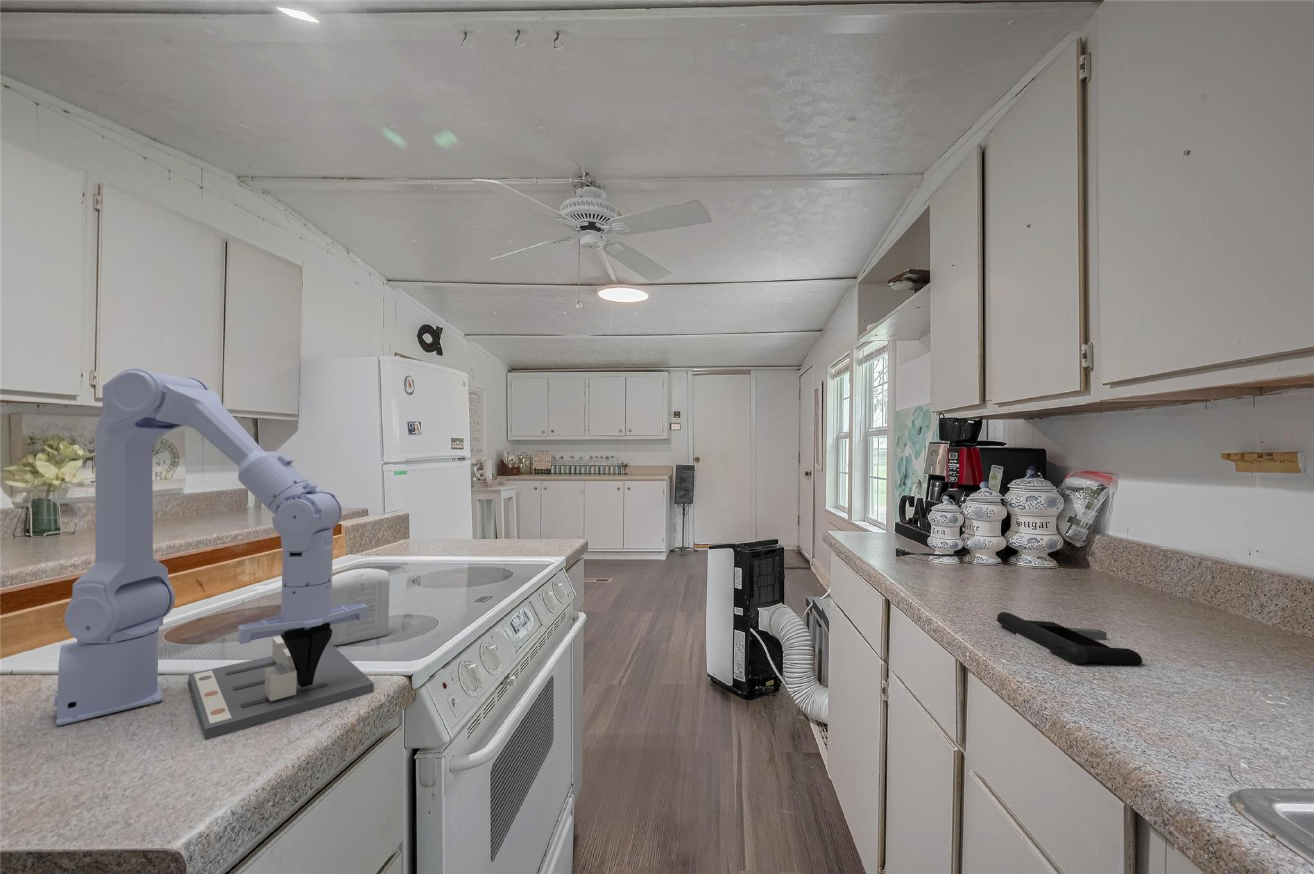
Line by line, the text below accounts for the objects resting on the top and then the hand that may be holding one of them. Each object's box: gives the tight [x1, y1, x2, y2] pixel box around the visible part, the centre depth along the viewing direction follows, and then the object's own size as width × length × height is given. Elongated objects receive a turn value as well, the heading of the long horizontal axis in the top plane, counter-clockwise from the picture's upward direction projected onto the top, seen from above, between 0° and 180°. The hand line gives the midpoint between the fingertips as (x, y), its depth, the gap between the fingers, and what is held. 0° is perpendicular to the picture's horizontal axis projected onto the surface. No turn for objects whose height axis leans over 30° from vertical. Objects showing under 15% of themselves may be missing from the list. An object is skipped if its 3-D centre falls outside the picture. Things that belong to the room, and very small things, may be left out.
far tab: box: [271, 635, 288, 663], centre depth 83 cm, size 3×4×3 cm
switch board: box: [188, 644, 375, 740], centre depth 77 cm, size 18×22×1 cm
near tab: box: [265, 663, 297, 701], centre depth 71 cm, size 3×4×3 cm
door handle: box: [995, 611, 1143, 667], centre depth 94 cm, size 3×20×16 cm
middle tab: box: [282, 649, 297, 676], centre depth 78 cm, size 3×4×3 cm
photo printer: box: [328, 567, 391, 647], centre depth 97 cm, size 10×4×12 cm, turn 134°
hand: (305, 684), depth 73 cm, fingers closed
